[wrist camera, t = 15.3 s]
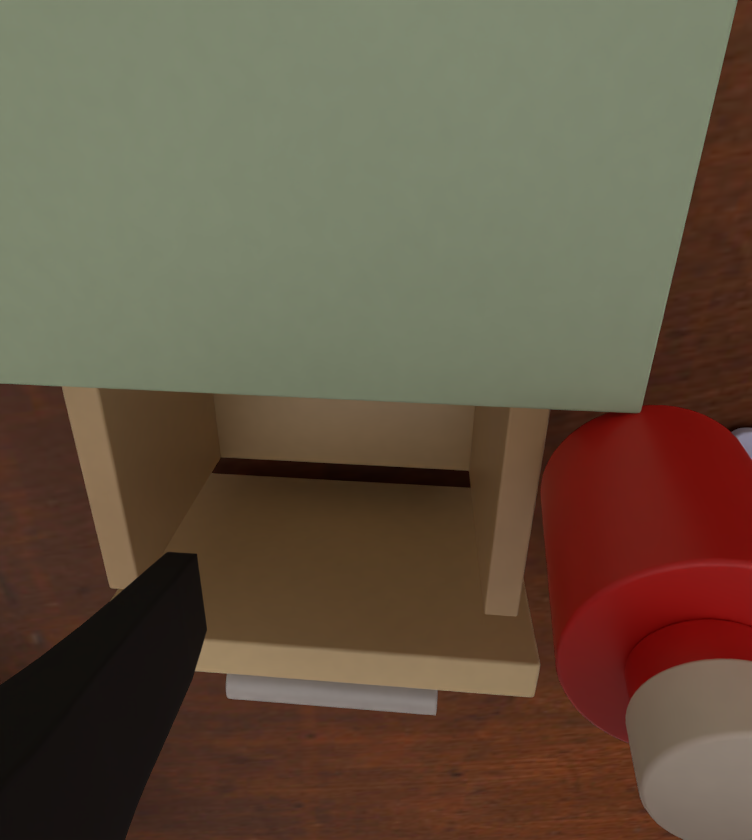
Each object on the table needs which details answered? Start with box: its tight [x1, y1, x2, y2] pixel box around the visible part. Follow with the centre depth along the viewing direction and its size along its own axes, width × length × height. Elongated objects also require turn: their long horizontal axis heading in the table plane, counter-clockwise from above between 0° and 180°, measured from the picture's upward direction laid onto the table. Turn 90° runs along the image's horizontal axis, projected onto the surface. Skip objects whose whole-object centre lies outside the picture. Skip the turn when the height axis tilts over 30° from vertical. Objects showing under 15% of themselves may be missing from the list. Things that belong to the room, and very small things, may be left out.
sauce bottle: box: [540, 405, 752, 840], centre depth 9 cm, size 4×4×6 cm
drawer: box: [62, 386, 550, 715], centre depth 17 cm, size 18×11×8 cm, turn 179°
